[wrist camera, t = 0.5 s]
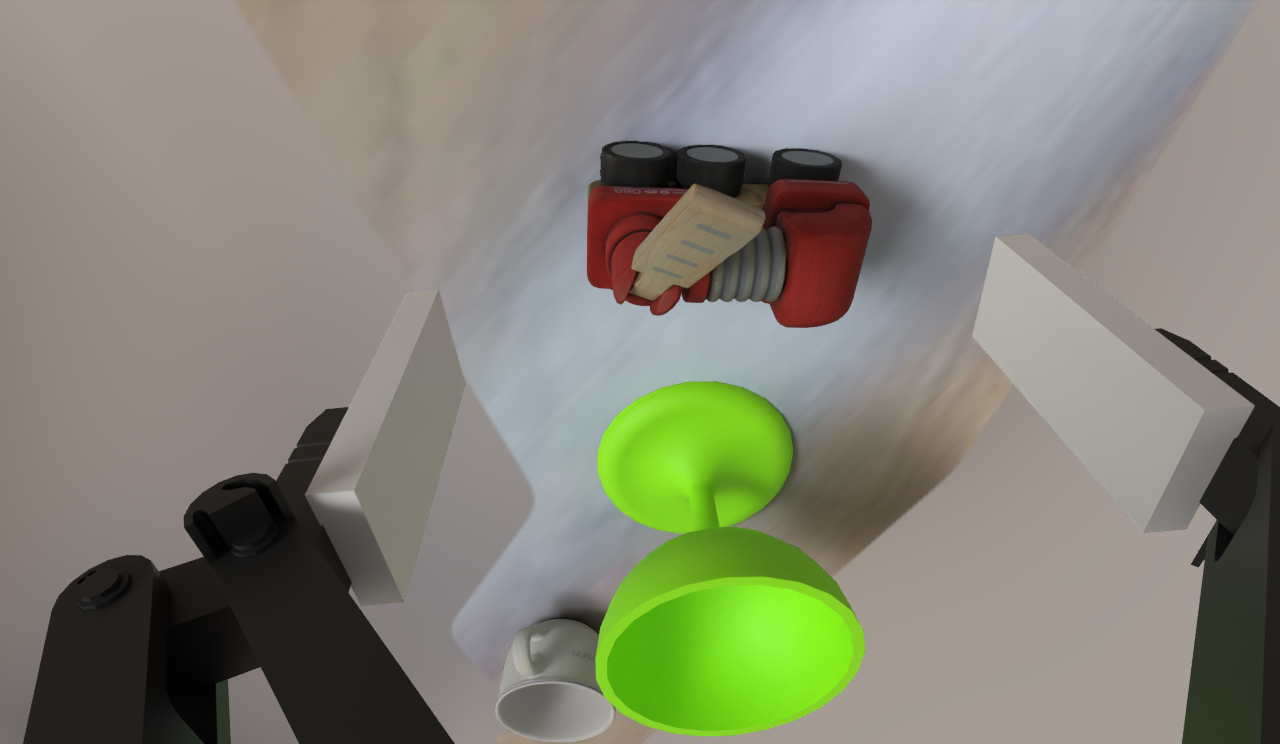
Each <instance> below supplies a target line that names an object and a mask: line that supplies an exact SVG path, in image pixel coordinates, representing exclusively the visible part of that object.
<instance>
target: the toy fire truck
mask: <svg viewBox="0 0 1280 744" xmlns="http://www.w3.org/2000/svg"><path fill="white" fill-rule="evenodd" d="M601 155H602V156H600V158H601V170H600V173H601V175H600V176H601V180H598V181H594V182H592V183H590V184H589V186H588V228H587V276H588V280H589V282H590V283H591V285H592V286H594V287H597V288H606V289H611V290H613V293H614V297H615V299H616V301H617V303H619V304H620V305H621V304H622V303H623V302H624V301H625V300H626V301H627V302H629V303H632V304H635V305H640V306H650V310H651V313H652V314H653V315H658V316H659V315H663V314H665V313H667V312H668V311H670V310H671V309H672V308H673V307H674V306H675V305H676V303H677V302H678V301H679V299H680V296H681V293H682V297H683V300H684V301H685V302H692V303H702V302H704V301H705V299H707V300H708V301H710V302H714V301H717V300H718V299H719V298H720V299H721V300H722V301H725V302H729V301H732V300H733V299H734V298H735V299H736V300H737V301H739V302H743V301H746V300H748V299H751V300H752V301H754V302H758V301H762V302H764V303H768V304H770V306H771V309H772V311H773V313H774V316H775V318H776V320H777V321H778V322H779V323H780V324H781V325H783V326H785V327H795V328H808V327H817V326H823V325H826V324H829V323H832V322H835V321H837V320H838V319H840V318H841V317H842V316H843V315H845V313H846V312H847V311H848V310H849V308H850V306H851V304H852V301H853V298H854V293H855V289H856V285H857V281H858V278H859V274H860V270H861V266H862V262H863V258H864V254H865V250H866V247H867V243H868V239H869V235H870V231H871V225H872V219H871V216H870V213H869V206H870V204H869V200H868V198H867V196H866V195H865V194H864V193H863V191H862V190H861V189H860V188H859V187H858V186H857V185H856V184H854V183H852V182H847V181H838V179H839V175H840V170H841V166H842V163H841V160H840V159H838V158H837V157H835V156H833V155H831V154H828V153H824V152H819V151H815V150H807V149H782V150H777V151H775V153H774V154H773V157H772V163H771V169H770V175H769V181H768V185H766V184H743V178H744V171H745V162H746V158H745V156H744V154H743V153H741V152H739V151H737V150H735V149H732V148H726V147H723V146H719V145H718V146H716V145H695V146H688V147H684V148H682V149H680V150H678V152H677V155H676V164H677V166H676V177H677V179H676V181H669V177H670V169H671V163H670V160H671V154H670V151H669V150H668V149H666V148H664V147H662V146H659V145H658V144H657V145H656V144H654V143H650V142H638V141H625V142H624V141H622V142H613V143H611V144H607V145H605V146H604V147H603V148H602V153H601Z"/></svg>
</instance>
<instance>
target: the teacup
mask: <svg viewBox="0 0 1280 744" xmlns="http://www.w3.org/2000/svg"><path fill="white" fill-rule="evenodd" d="M598 639H599V634H598V633H596V632H595V631H594V630H592V629H591V628H590V627H588V626H587V625H585V624H583V623H581V622H578V621H574V620H569V619H553V620H548V621H544V622H542V623H536V624H534V625H533V626H529V627H525V628H522V629H521V630H519V631H518V632H517V633H516V635H515V637H514V641H513V644H512V646H511V648H510V650H509V652H508V655H507V659H506V662H505V666H504V671H503V676H502V680H501V686H500V692H499V697H498V700H497V702H496V706H495V711H496V716H497V718H498V720H499V721H500V722H501V723H502V724H503V726H505V727H506V728H507V729H509V730H510V731H512V732H514V733H516V734H518V735H520V736H523V737H526V738H529V739H533V740H538V741H545V742H577V741H580V740H584V739H589V738H592V737H594V736H597V735H599V734H601V733H602V732H604V731H605V730H607V729H608V728H609V727H610V726H611V724H612V723H613V721H614V719H615V715H616V710H615V707H614V706H613V705H612V704H611V703H610V702H609V701H608V700H607V699H606V698H605V697H604V695H603V693H602V691H601V689H600V687H599V685H598V683H597V681H596V661H595V658H596V652H597V645H598Z"/></svg>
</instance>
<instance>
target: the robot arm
mask: <svg viewBox="0 0 1280 744" xmlns="http://www.w3.org/2000/svg"><path fill="white" fill-rule="evenodd" d="M972 337H973V338H974V339H975V340H976V341H977V342H978V344H979V345H980V346H981V347H982V348H983V349H984V350H985V352H986V353H987V354H988V355H989V356H990V357H991V359H992V360H993V361H994V362H995V363H996V364H997V365H998V367H999V368H1000V369H1001V370H1002V371H1003V372H1004V374H1005V375H1006V376H1007V377H1008V378H1009V379H1010V380H1011V382H1012V383H1013V384H1014V385H1015V386H1016V387H1017V389H1018V390H1019V391H1020V392H1021V393H1022V394H1023V395H1024V396H1025V398H1026V399H1027V400H1028V401H1029V402H1030V404H1031V405H1032V406H1033V407H1034V408H1035V409H1036V410H1037V412H1038V413H1039V414H1040V415H1041V416H1042V417H1043V418H1044V420H1045V421H1046V422H1047V423H1048V424H1049V425H1050V426H1051V428H1052V429H1053V430H1054V431H1055V432H1056V433H1057V435H1058V436H1059V437H1060V438H1061V439H1062V440H1063V441H1064V443H1065V444H1066V445H1067V446H1068V447H1069V448H1070V450H1071V451H1072V452H1073V453H1074V454H1075V455H1076V457H1077V458H1078V459H1079V460H1080V461H1081V462H1082V463H1083V465H1084V466H1085V467H1086V468H1087V469H1088V470H1089V472H1090V473H1091V474H1092V475H1093V476H1094V477H1095V478H1096V480H1097V481H1098V482H1099V483H1100V484H1101V485H1102V487H1103V488H1104V489H1105V490H1106V491H1107V492H1108V493H1109V495H1111V497H1112V498H1113V499H1114V500H1115V501H1116V503H1117V504H1118V505H1119V506H1120V507H1121V508H1122V510H1123V511H1124V512H1125V513H1126V514H1127V515H1128V516H1129V518H1130V519H1131V520H1132V521H1133V522H1134V523H1135V525H1136V526H1137V527H1138V528H1139V529H1140V530H1141V531H1142V533H1150V532H1161V531H1172V530H1181V529H1187V527H1188V525H1189V524H1190V522H1191V520H1192V518H1193V516H1194V515H1195V513H1196V511H1197V509H1198V507H1199V505H1200V504H1202V505H1203V506H1204V507H1205V508H1206V509H1207V510H1208V511H1209V512H1210V513H1211V514H1212V515H1213V516H1214V517H1215V518H1216V519H1217V521H1216V523H1215V524H1214V526H1213V528H1212V529H1211V531H1210V533H1209V535H1208V536H1207V538H1206V540H1205V541H1204V543H1203V545H1202V546H1201V548H1200V550H1199V551H1198V553H1197V555H1196V557H1195V558H1194V560H1193V562H1192V563H1191V565H1194V566H1196V567H1199V566H1200V564H1201V563H1202V562H1203V560H1205V563H1204V572H1203V579H1202V587H1201V596H1200V604H1199V612H1198V619H1197V627H1196V636H1195V643H1194V652H1193V659H1192V667H1191V676H1190V683H1189V691H1188V699H1187V707H1186V715H1185V724H1184V731H1183V739H1182V744H1280V407H1279V406H1277V405H1276V404H1275V403H1273V402H1272V401H1271V400H1269V399H1268V398H1267V397H1265V396H1264V395H1263V394H1261V393H1260V392H1258V391H1257V390H1256V389H1254V388H1253V387H1252V386H1250V385H1249V384H1247V383H1246V382H1245V381H1244V380H1242V379H1241V378H1239V377H1238V376H1237V375H1235V374H1234V373H1229V372H1228V369H1227V368H1226V367H1224V366H1223V365H1221V364H1220V363H1219V362H1218V361H1216V360H1211V356H1210V355H1208V354H1206V353H1205V352H1204V351H1203V350H1201V349H1200V348H1199V347H1197V346H1196V345H1195V344H1193V343H1192V342H1190V341H1189V340H1186V339H1184V338H1182V337H1179V336H1177V335H1175V334H1173V333H1170V332H1168V331H1166V330H1163V329H1153V328H1152V327H1151V326H1150V325H1148V324H1147V323H1146V322H1144V321H1143V320H1142V319H1140V318H1139V317H1138V316H1136V315H1135V314H1134V313H1132V312H1131V311H1130V310H1128V309H1127V308H1126V307H1124V306H1123V305H1122V304H1121V303H1119V302H1118V301H1117V300H1115V299H1114V298H1113V297H1111V296H1110V295H1109V294H1108V293H1106V292H1105V291H1104V290H1102V289H1100V287H1098V286H1097V285H1096V284H1094V283H1093V282H1092V281H1090V280H1089V279H1088V278H1087V277H1085V276H1084V275H1083V274H1081V273H1080V272H1079V271H1077V270H1076V269H1075V268H1073V267H1072V266H1071V265H1069V264H1068V263H1067V262H1065V261H1064V260H1063V259H1062V258H1060V257H1059V256H1058V255H1056V254H1055V253H1054V252H1052V251H1051V250H1050V249H1048V248H1047V247H1046V246H1044V245H1043V244H1042V243H1041V242H1039V241H1038V240H1037V239H1035V238H1034V237H1033V236H1031V235H1030V234H1029V233H1025V234H1015V235H1004V236H996V237H995V241H994V245H993V250H992V254H991V258H990V262H989V267H988V271H987V275H986V279H985V284H984V288H983V292H982V296H981V301H980V305H979V309H978V313H977V318H976V322H975V326H974V330H973V335H972ZM464 388H465V381H464V377H463V374H462V370H461V367H460V363H459V360H458V356H457V353H456V349H455V346H454V342H453V339H452V335H451V332H450V328H449V324H448V321H447V317H446V314H445V310H444V307H443V303H442V300H441V296H440V293H439V290H431V291H420V292H410V293H406V295H405V297H404V299H403V301H402V303H401V305H400V306H399V308H398V311H397V313H396V314H395V317H394V318H393V321H392V322H391V324H390V326H389V329H388V330H387V332H386V334H385V336H384V339H383V340H382V342H381V344H380V346H379V348H378V350H377V353H376V354H375V356H374V358H373V360H372V362H371V364H370V366H369V368H368V370H367V372H366V374H365V376H364V378H363V380H362V382H361V384H360V386H359V388H358V390H357V392H356V394H355V396H354V398H353V400H352V402H351V404H350V406H349V407H345V408H335V409H326V410H325V411H324V412H323V413H322V414H321V415H319V416H318V417H317V418H316V419H315V420H314V421H313V422H311V423H310V424H309V425H308V426H307V427H306V429H305V431H304V433H303V435H302V436H301V438H300V440H299V442H298V443H297V448H295V449H294V450H293V452H292V454H291V456H290V458H289V459H288V464H286V465H285V466H284V468H283V470H282V472H281V473H280V475H279V477H278V479H277V480H276V481H275V480H274V479H273V478H271V477H270V476H268V475H267V474H258V473H250V474H243V475H238V476H234V477H232V478H229V479H227V480H224V481H221V482H219V483H217V484H216V485H214V486H213V487H211V488H209V489H208V490H206V491H204V492H203V493H202V494H201V495H200V496H199V497H198V498H196V500H194V502H192V503H191V504H190V506H189V508H188V510H187V511H186V513H185V515H184V528H185V529H186V531H187V532H188V534H189V535H190V537H191V538H192V540H193V541H194V543H195V544H196V546H197V547H198V549H199V550H200V551H201V553H202V554H203V556H204V557H202V558H199V559H196V560H193V561H190V562H187V563H184V564H180V565H177V566H175V567H172V568H168V569H165V570H162V571H158V570H157V568H156V567H155V566H154V565H153V563H152V562H151V560H149V559H147V558H145V557H143V556H141V555H126V556H122V557H118V558H114V559H111V560H107V561H105V562H103V563H101V564H99V565H97V566H95V567H93V568H91V569H89V570H88V571H86V572H85V573H83V574H82V575H80V576H79V577H78V578H76V579H75V580H74V581H72V582H71V583H70V584H69V585H68V587H67V588H66V589H65V590H64V591H63V592H62V593H61V594H60V595H59V596H58V599H57V600H56V603H55V605H54V607H53V609H52V612H51V617H50V622H49V626H48V631H47V635H46V640H45V644H44V649H43V654H42V659H41V663H40V668H39V672H38V677H37V682H36V687H35V691H34V695H33V700H32V705H31V709H30V714H29V719H28V723H27V728H26V733H25V738H24V742H23V744H231V739H230V719H229V718H230V717H229V696H228V679H230V678H232V677H235V676H237V675H240V674H243V673H245V672H248V671H251V670H253V669H256V668H259V667H261V668H262V670H263V672H264V674H265V676H266V678H267V680H268V682H269V684H270V686H271V688H272V690H273V692H274V694H275V696H276V698H277V700H278V702H279V704H280V706H281V708H282V710H283V712H284V714H285V716H286V718H287V720H288V722H289V724H290V726H291V728H292V730H293V732H294V734H295V736H296V738H297V740H298V742H299V744H455V743H454V742H453V741H452V739H451V738H450V736H449V735H448V734H447V732H446V731H445V729H444V728H443V727H442V725H441V724H440V722H439V721H438V719H437V718H436V717H435V715H434V714H433V712H432V711H431V709H430V708H429V707H428V706H427V704H426V702H425V701H424V699H423V698H422V697H421V695H420V694H419V692H418V691H417V690H416V688H415V687H414V685H413V684H412V682H411V681H410V680H409V678H408V677H407V675H406V674H405V672H404V671H403V670H402V668H401V667H400V665H399V664H398V663H397V661H396V660H395V658H394V657H393V655H392V654H391V653H390V651H389V650H388V648H387V647H386V645H385V644H384V643H383V641H382V640H381V638H380V637H379V636H378V634H377V633H376V631H375V630H374V628H373V627H372V626H371V624H370V623H369V621H368V620H367V618H366V617H365V616H364V614H363V613H362V611H361V610H360V609H359V607H358V606H357V604H356V603H355V602H354V600H353V599H352V597H351V596H350V594H349V593H348V592H349V589H350V587H352V589H353V591H354V592H355V595H356V597H357V598H358V600H359V602H360V604H361V606H365V605H376V604H387V603H398V602H404V600H405V597H406V593H407V590H408V586H409V583H410V579H411V575H412V572H413V569H414V565H415V561H416V558H417V554H418V551H419V547H420V544H421V540H422V536H423V533H424V530H425V526H426V522H427V519H428V515H429V512H430V508H431V504H432V501H433V498H434V494H435V491H436V487H437V483H438V480H439V476H440V472H441V469H442V466H443V462H444V459H445V455H446V452H447V448H448V444H449V441H450V437H451V434H452V430H453V427H454V423H455V420H456V416H457V413H458V409H459V405H460V402H461V398H462V395H463V391H464Z"/></svg>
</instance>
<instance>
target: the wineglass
mask: <svg viewBox="0 0 1280 744" xmlns="http://www.w3.org/2000/svg"><path fill="white" fill-rule="evenodd" d="M792 457H793V444H792V437H791V431H790V429H789V428H788V426H787V424H786V422H785V420H784V418H783V417H782V415H781V413H780V412H779V411H778V410H777V409H776V408H774V407H773V406H772V405H771V404H770V403H769V402H768V401H767V400H766V399H765V398H763V397H761V396H759V395H757V394H755V393H753V392H751V391H749V390H747V389H745V388H743V387H739V386H734V385H730V384H725V383H721V382H685V383H681V384H677V385H672V386H668V387H663V388H660V389H658V390H656V391H654V392H652V393H650V394H647V395H645V396H643V397H641V398H639V399H637V400H636V401H634V402H633V403H632V404H631V405H629V406H628V407H627V408H626V409H624V410H623V411H622V412H621V413H619V414H618V415H617V416H616V418H615V419H614V420H613V422H612V423H611V425H610V426H609V427H608V429H607V430H606V431H605V433H604V435H603V438H602V441H601V444H600V447H599V450H598V453H597V459H598V475H599V477H600V480H601V483H602V485H603V488H604V491H605V493H606V494H607V495H608V497H609V498H610V499H611V500H612V502H613V503H614V504H615V505H616V506H617V508H618V509H619V510H620V511H622V512H623V513H625V514H626V515H628V516H629V517H630V518H632V519H633V520H635V521H636V522H638V523H641V524H643V525H646V526H648V527H651V528H654V529H656V530H661V531H667V532H673V533H679V534H684V535H681V536H679V537H676V538H674V539H671V540H669V541H667V542H666V543H664V544H663V545H661V546H660V547H658V548H657V549H655V550H654V551H652V552H651V553H650V554H648V555H647V556H646V557H645V558H644V559H643V560H642V561H641V562H640V563H638V564H637V565H636V566H635V567H634V568H633V570H632V571H631V572H630V573H629V574H628V575H627V576H626V578H625V579H624V580H623V581H622V582H621V583H620V585H619V587H618V589H617V591H616V593H615V595H614V597H613V599H612V602H611V604H610V606H609V608H608V610H607V613H606V615H605V617H604V620H603V622H602V625H601V627H600V632H599V639H598V645H597V652H596V658H595V661H596V681H597V683H598V685H599V687H600V689H601V691H602V693H603V695H604V697H605V698H606V699H607V700H608V701H609V702H610V703H611V704H612V705H613V706H614V707H615V708H617V709H618V710H619V711H620V712H621V713H622V714H624V715H626V716H628V717H630V718H631V719H633V720H635V721H637V722H639V723H641V724H643V725H645V726H649V727H652V728H656V729H659V730H663V731H667V732H670V733H676V734H685V735H695V736H729V735H739V734H744V733H750V732H756V731H762V730H766V729H770V728H773V727H776V726H779V725H782V724H785V723H788V722H791V721H794V720H797V719H799V718H800V717H803V716H805V715H807V714H809V713H810V712H813V711H815V710H817V709H819V708H820V707H822V706H823V705H825V704H826V703H827V702H829V701H830V700H831V699H833V698H834V697H835V696H836V695H838V694H839V693H840V692H842V691H843V690H844V689H845V687H846V686H847V685H848V683H849V682H850V681H851V680H852V678H853V677H854V676H855V675H856V673H857V672H858V670H859V667H860V664H861V661H862V659H863V656H864V653H865V645H864V633H863V629H862V627H861V625H860V623H859V621H858V619H857V618H856V616H855V614H854V612H853V610H852V608H851V606H850V604H849V603H848V601H847V599H846V597H845V596H844V594H843V593H842V591H841V589H840V588H839V586H838V584H837V582H836V581H835V580H834V579H833V578H832V577H831V576H830V575H829V574H828V573H827V572H825V571H824V570H823V569H822V568H821V567H820V566H819V565H818V564H817V563H816V562H815V561H814V560H813V559H811V558H810V557H809V556H808V555H806V554H805V553H804V552H803V551H801V550H800V549H799V548H797V547H795V546H793V545H790V544H788V543H786V542H783V541H781V540H779V539H777V538H774V537H772V536H769V535H767V534H765V533H762V532H760V531H756V530H750V529H744V528H739V527H729V526H732V525H734V524H737V523H739V522H742V521H744V520H746V519H748V518H749V517H751V516H752V515H754V514H755V513H757V512H758V511H760V510H761V509H763V508H764V507H765V506H766V505H767V504H768V503H769V502H770V501H771V500H772V499H773V498H774V497H775V496H776V495H777V494H778V492H779V491H780V489H781V487H782V486H783V484H784V482H785V480H786V478H787V476H788V475H789V472H790V467H791V462H792Z"/></svg>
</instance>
